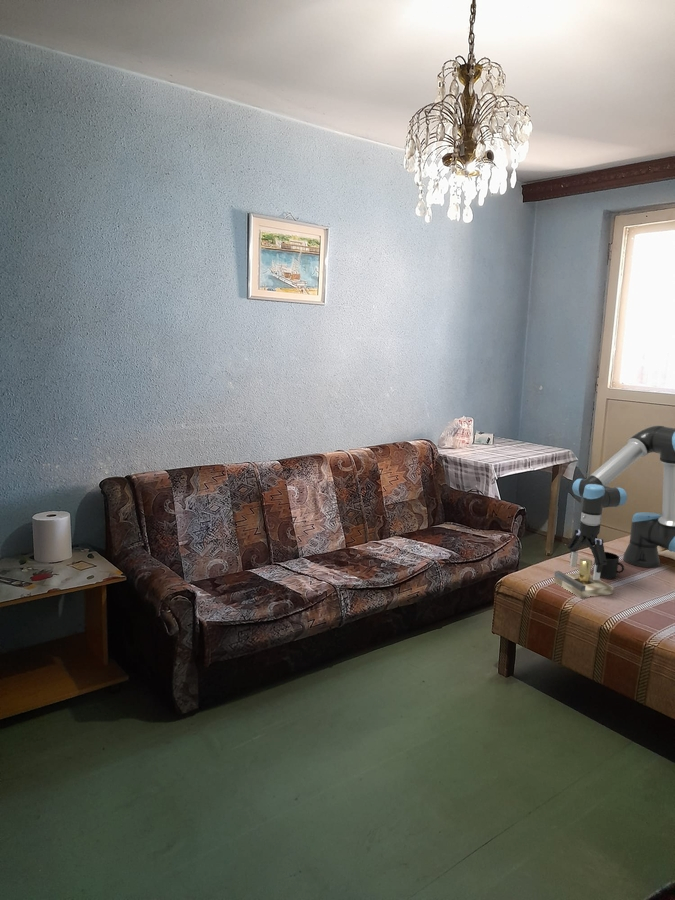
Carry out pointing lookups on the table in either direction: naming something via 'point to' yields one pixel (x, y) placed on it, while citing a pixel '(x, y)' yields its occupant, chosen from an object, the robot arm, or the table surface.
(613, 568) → the mug
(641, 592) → the table surface
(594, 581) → the jig
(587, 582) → the pale yellow cylinder
